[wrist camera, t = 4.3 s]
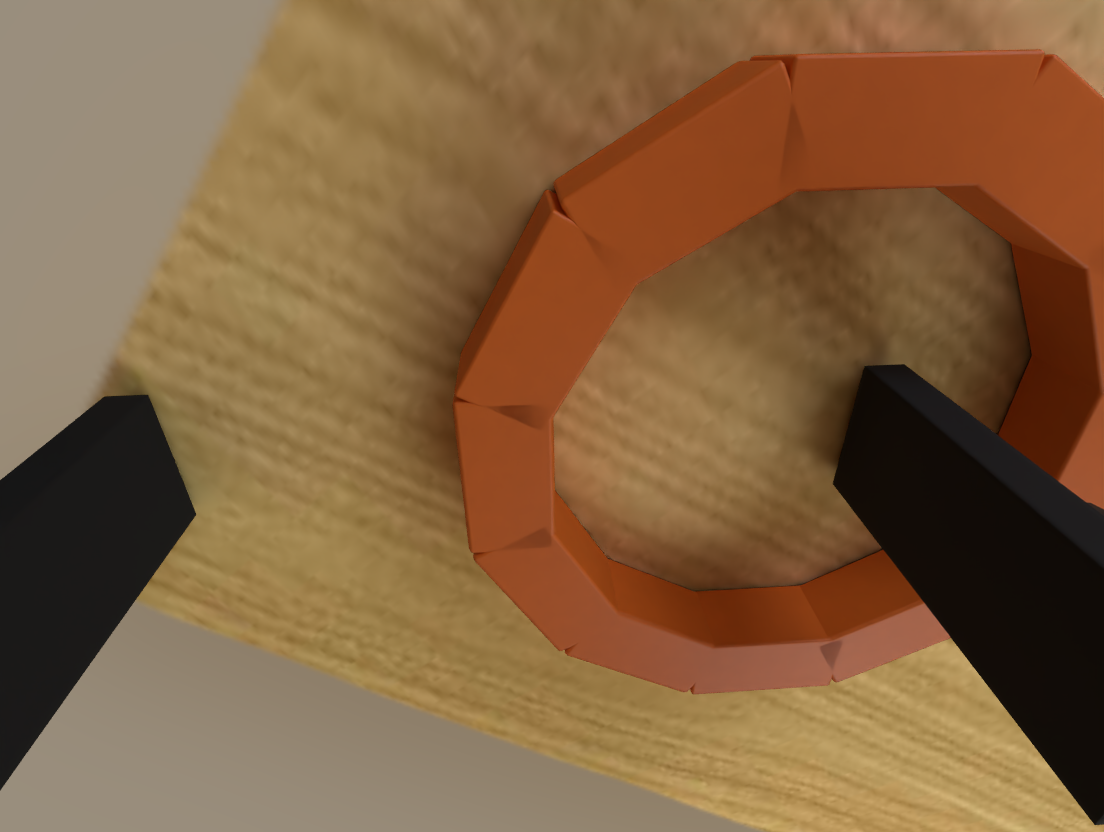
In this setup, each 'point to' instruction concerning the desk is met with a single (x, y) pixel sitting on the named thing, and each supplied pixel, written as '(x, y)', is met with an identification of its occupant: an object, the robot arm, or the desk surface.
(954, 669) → the desk surface
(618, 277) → the ring
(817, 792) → the desk surface
